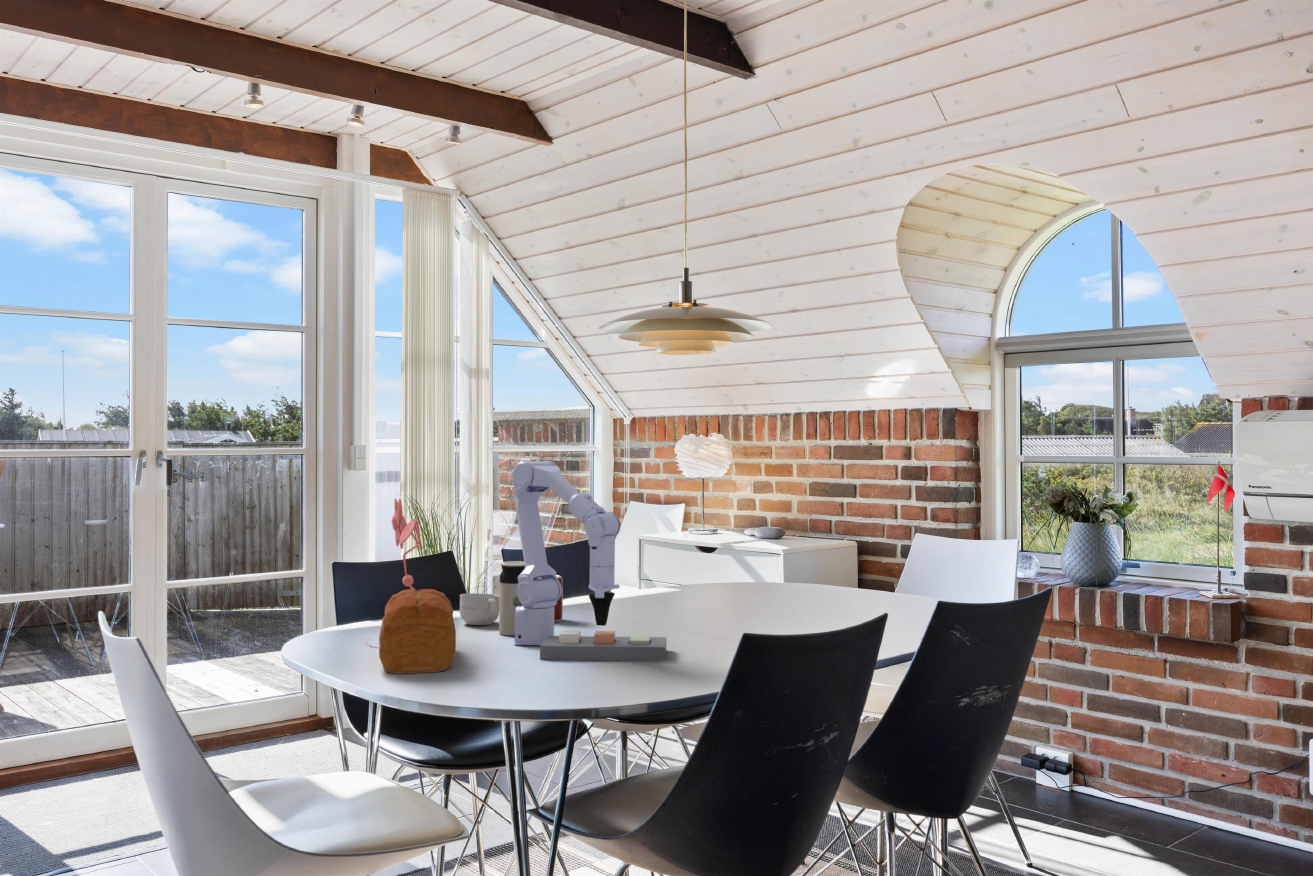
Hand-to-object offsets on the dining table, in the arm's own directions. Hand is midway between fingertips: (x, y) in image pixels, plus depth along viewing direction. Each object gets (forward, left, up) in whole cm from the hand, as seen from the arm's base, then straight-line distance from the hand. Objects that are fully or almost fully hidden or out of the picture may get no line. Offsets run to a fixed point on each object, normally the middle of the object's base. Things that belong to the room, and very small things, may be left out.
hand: (601, 625), depth 230 cm
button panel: (+1, 0, -7) cm, 7 cm away
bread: (-40, -9, -7) cm, 42 cm away
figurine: (-51, +13, -7) cm, 53 cm away
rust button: (+1, 0, -5) cm, 5 cm away
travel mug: (-24, +25, -7) cm, 35 cm away
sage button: (+9, 0, -6) cm, 11 cm away
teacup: (-35, +37, -7) cm, 51 cm away
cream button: (-7, 0, -5) cm, 9 cm away
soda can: (-18, +45, -7) cm, 49 cm away
